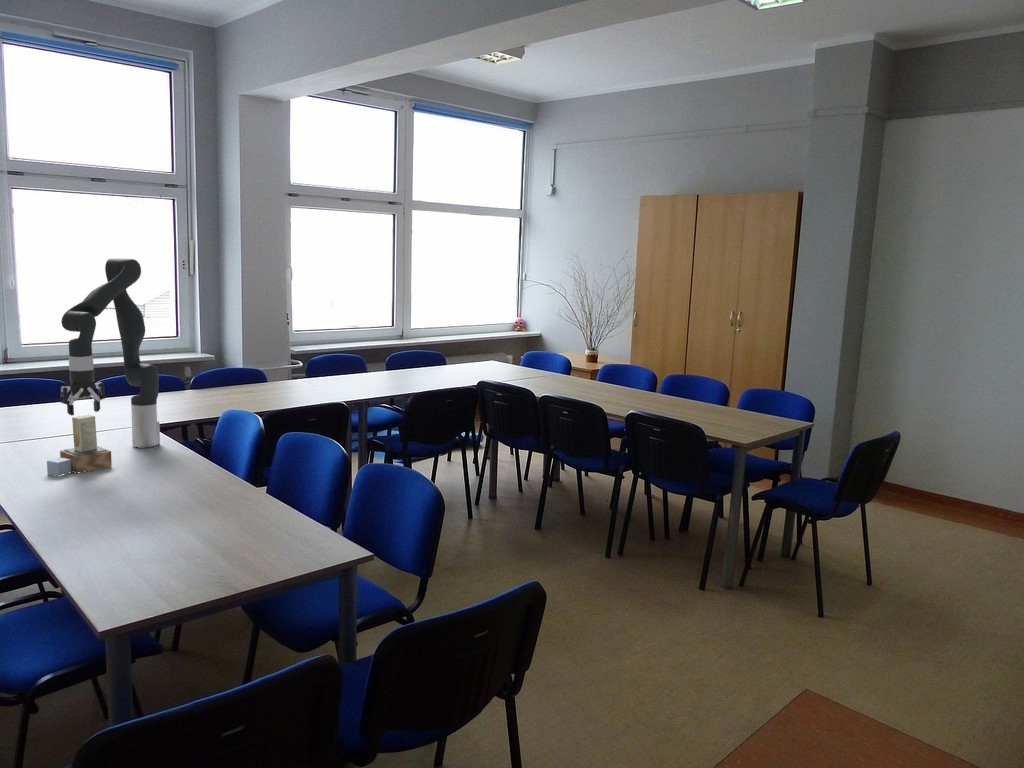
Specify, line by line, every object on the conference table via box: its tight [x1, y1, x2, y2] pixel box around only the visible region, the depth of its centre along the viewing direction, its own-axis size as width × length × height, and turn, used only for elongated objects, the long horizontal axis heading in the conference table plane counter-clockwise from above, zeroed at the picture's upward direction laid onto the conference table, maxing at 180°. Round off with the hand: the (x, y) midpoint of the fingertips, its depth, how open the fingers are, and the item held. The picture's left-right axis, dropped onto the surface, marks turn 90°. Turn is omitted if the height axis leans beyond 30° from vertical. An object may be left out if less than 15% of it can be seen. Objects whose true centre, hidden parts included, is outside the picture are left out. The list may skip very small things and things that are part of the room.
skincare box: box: [71, 414, 98, 452], centre depth 269 cm, size 6×4×12 cm
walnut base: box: [59, 445, 113, 474], centre depth 271 cm, size 12×12×6 cm
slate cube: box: [46, 457, 72, 477], centre depth 262 cm, size 5×5×5 cm
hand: (84, 413), depth 268 cm, fingers open, 8 cm apart
